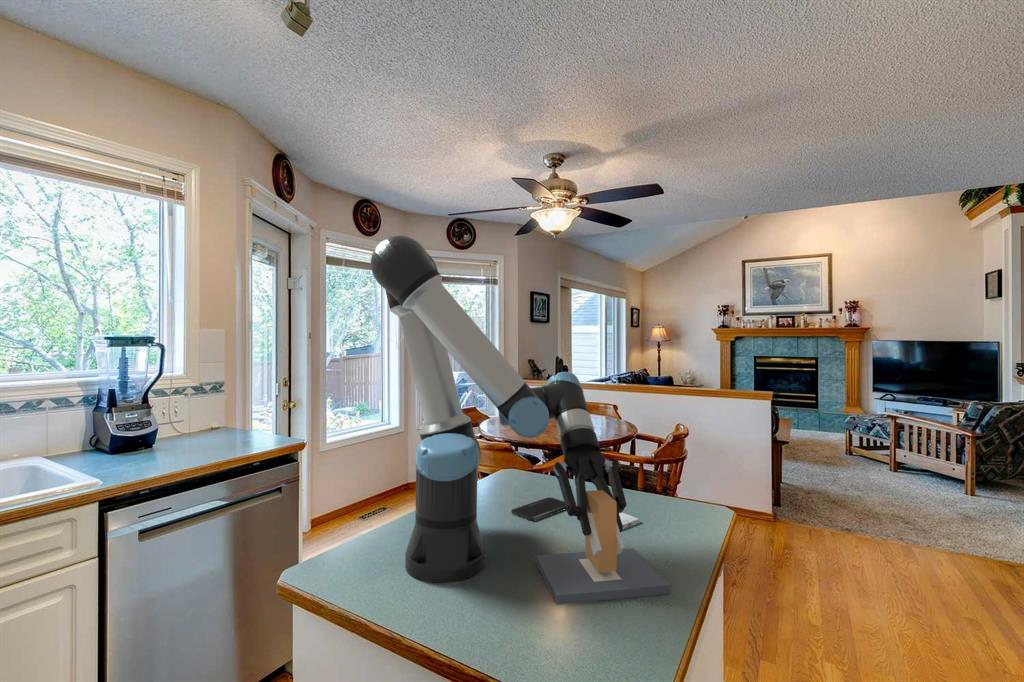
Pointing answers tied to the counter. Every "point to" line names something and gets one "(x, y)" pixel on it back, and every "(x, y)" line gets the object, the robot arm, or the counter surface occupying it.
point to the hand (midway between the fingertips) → (608, 551)
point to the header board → (599, 578)
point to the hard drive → (628, 520)
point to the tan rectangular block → (603, 530)
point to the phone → (539, 509)
